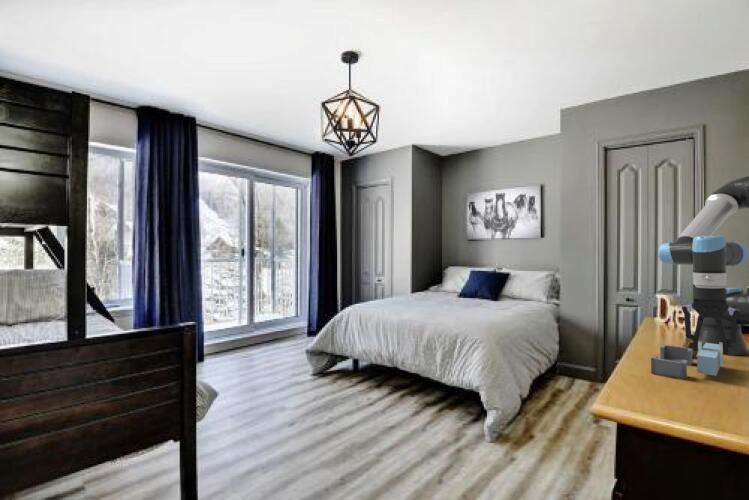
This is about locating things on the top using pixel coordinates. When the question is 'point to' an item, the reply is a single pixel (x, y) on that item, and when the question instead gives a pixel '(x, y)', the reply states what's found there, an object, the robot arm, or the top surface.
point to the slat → (708, 359)
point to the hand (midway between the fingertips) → (710, 363)
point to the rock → (689, 345)
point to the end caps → (672, 361)
